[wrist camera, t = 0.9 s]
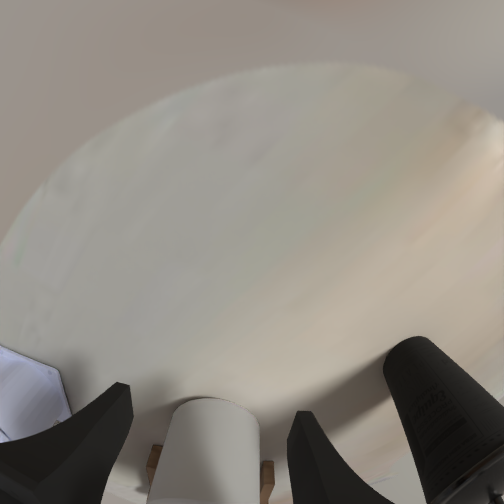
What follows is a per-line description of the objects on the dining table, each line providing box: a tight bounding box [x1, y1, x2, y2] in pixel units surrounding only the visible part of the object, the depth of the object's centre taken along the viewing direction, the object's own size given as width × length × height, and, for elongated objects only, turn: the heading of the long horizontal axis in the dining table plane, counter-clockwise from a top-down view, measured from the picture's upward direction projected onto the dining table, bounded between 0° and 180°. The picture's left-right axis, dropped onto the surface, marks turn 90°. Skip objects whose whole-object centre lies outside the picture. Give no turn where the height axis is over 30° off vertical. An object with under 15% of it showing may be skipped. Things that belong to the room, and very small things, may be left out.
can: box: [146, 398, 260, 504], centre depth 18 cm, size 8×8×12 cm
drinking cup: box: [383, 336, 504, 504], centre depth 12 cm, size 8×8×20 cm
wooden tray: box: [146, 445, 275, 504], centre depth 25 cm, size 14×10×3 cm
